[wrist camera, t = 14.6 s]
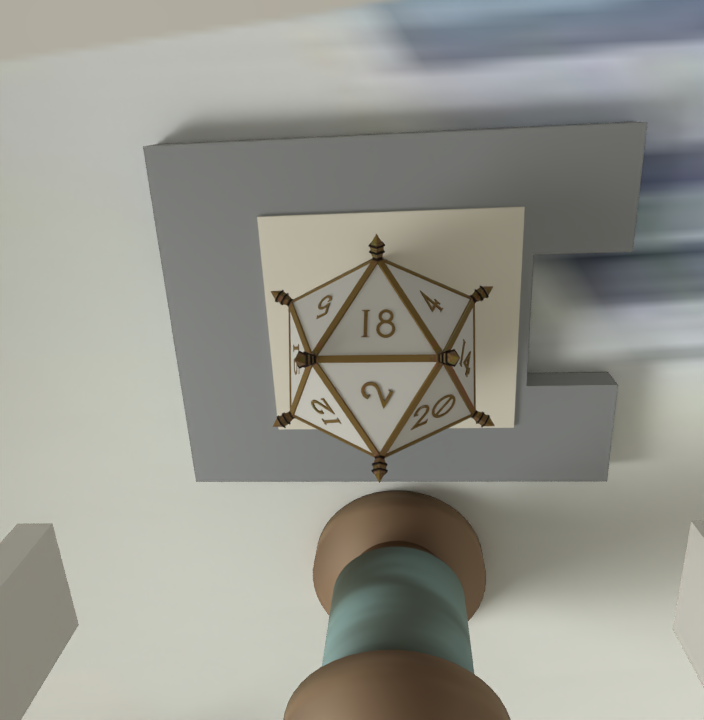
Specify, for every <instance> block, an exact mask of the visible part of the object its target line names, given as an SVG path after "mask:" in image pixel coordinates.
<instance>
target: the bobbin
mask: <svg viewBox="0 0 704 720" xmlns="http://www.w3.org/2000/svg"><path fill="white" fill-rule="evenodd" d="M313 581H314V587H315V591H316V594H317V597H318V599H319V601H320V603H321V605H322V606H323V608H324V609H325V611H326V612H327V613H328V614H329V615H330V616H329V623H328V630H327V636H326V643H325V650H324V657H323V664H322V667H321V668H319V669H318V670H316V671H315V672H313V673H312V674H310V675H309V676H308V677H307V678H306V679H305V680H304V681H303V682H302V683H301V684H300V685H299V686H298V688H297V689H296V690H295V691H294V693H293V695H292V696H291V698H290V700H289V702H288V705H287V707H286V710H285V714H284V719H283V720H510V717H509V715H508V712H507V710H506V708H505V706H504V705H503V703H502V701H501V700H500V698H499V697H498V696H497V695H496V693H495V692H494V691H493V690H492V689H491V688H490V687H489V686H488V685H487V684H486V683H485V682H484V681H483V680H481V679H480V678H479V677H477V676H476V675H474V669H473V661H472V652H471V644H470V636H469V628H468V621H469V619H470V618H471V617H472V616H473V615H474V613H475V612H476V610H477V609H478V607H479V605H480V603H481V601H482V599H483V595H484V592H485V585H486V573H485V567H484V561H483V555H482V550H481V546H480V542H479V540H478V537H477V535H476V533H475V531H474V530H473V528H472V527H471V525H470V524H469V523H468V521H467V520H466V519H465V518H464V517H463V516H462V515H461V514H460V513H459V512H457V511H456V510H455V509H453V508H452V507H451V506H449V505H447V504H446V503H444V502H442V501H440V500H438V499H436V498H433V497H431V496H427V495H424V494H421V493H415V492H410V491H384V492H378V493H373V494H370V495H366V496H363V497H361V498H359V499H356V500H354V501H352V502H351V503H349V504H347V505H346V506H344V507H343V508H342V509H340V510H339V511H338V512H337V513H336V514H335V515H334V516H333V517H332V518H331V519H330V520H329V522H328V523H327V524H326V526H325V527H324V529H323V531H322V533H321V536H320V539H319V542H318V546H317V551H316V556H315V561H314V568H313Z"/></svg>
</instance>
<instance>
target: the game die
mask: <svg viewBox="0 0 704 720" xmlns="http://www.w3.org/2000/svg"><path fill="white" fill-rule="evenodd" d="M368 246H369V247H370V251H369V253H371V255H372V257H373V258H372V259H370V260H368V261H366V262H364V263H362V264H360V265H358V266H356V267H355V268H353V269H351V270H349V271H347V272H345V273H343V274H341V275H339V276H337V277H335V278H333V279H331V280H330V281H328V282H326V283H324V284H322V285H320V286H318V287H316V288H314V289H312V290H310V291H308V292H306V293H305V294H303V295H301V296H299V297H297V298H295V299H292V298H291V297H290V296H289V293H287V294H286V293H285V292H283V291H284V290H282V291H271V293H272V295H273V297H274V299H275V302H279V303H280V304H281V305H287V306H288V312H289V390H290V411H289V412H287V413H285V412H284V413H282V415H281V416H277V419H276V421H275V423H274V425H273V427H284V428H286V427H285V426H286V425H288V424H289V425H290V424H291V423H290V422H291V421H292V420H293V419H295V418H296V419H298V420H300V421H302V422H304V423H306V424H308V425H310V426H312V427H314V428H316V429H318V430H320V431H322V432H324V433H326V434H328V435H330V436H332V437H334V438H336V439H338V440H340V441H342V442H344V443H346V444H348V445H350V446H352V447H354V448H356V449H358V450H360V451H362V452H364V453H366V454H368V455H370V456H372V457H374V458H375V460H374V463H372V466H373V470H371V472H372V473H373V474H375V476H376V478H377V479H378V481H379V483H380V481H381V480H382V478H383V476H384V475H385V474H386V473H387V472H388V470H386V466H387V463H386V462H385V458H386V457H389V456H391V455H393V454H395V453H397V452H399V451H401V450H403V449H405V448H408V447H410V446H412V445H414V444H416V443H418V442H420V441H422V440H424V439H427V438H429V437H431V436H433V435H435V434H437V433H439V432H441V431H443V430H445V429H448V428H450V427H452V426H454V425H456V424H458V423H460V422H462V421H464V420H467V419H469V418H473V419H474V420H475V421H476V424H480V425H481V427H483V426H495V425H494V424H493V422H492V420H491V418H490V415H486V414H484V412H483V411H482V412H479V411H477V410H476V373H475V303H476V302H478V301H483V299H484V298H488V297H489V294H490V292H491V290H492V288H493V287H494V286H481V285H480V288H478V289H477V290H476V289H475V291H474V293H473V294H472V295H470V296H469V295H467V294H465V293H462V292H460V291H458V290H455V289H453V288H451V287H449V286H446V285H444V284H442V283H439V282H437V281H435V280H432V279H430V278H428V277H425V276H423V275H421V274H418V273H416V272H414V271H412V270H409V269H407V268H405V267H402V266H400V265H398V264H395V263H393V262H391V261H388V260H387V259H384V257H383V253H385V251H384V246H385V244H384V243H383V242H382V241H381V240H380V238H379V237H378V235H377V234H376V235H375V237H374V239H373V240H372V242H371V243H370V244H369V245H368Z"/></svg>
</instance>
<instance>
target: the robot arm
mask: <svg viewBox="0 0 704 720" xmlns="http://www.w3.org/2000/svg"><path fill="white" fill-rule="evenodd" d="M78 625H79V624H78V620H77V617H76V613H75V609H74V605H73V601H72V597H71V594H70V590H69V586H68V582H67V578H66V574H65V571H64V567H63V563H62V559H61V555H60V551H59V548H58V544H57V540H56V536H55V532H54V528H53V524H17V525H16V526H15V527H14V528H13V530H12V531H11V532H10V533H9V534H8V535H7V536H6V537H5V539H4V540H3V541H2V542H1V543H0V720H21V719H22V717H23V716H24V714H25V712H26V711H27V709H28V707H29V706H30V704H31V702H32V701H33V699H34V697H35V696H36V694H37V692H38V691H39V689H40V688H41V686H42V684H43V683H44V681H45V679H46V678H47V676H48V674H49V673H50V671H51V669H52V668H53V666H54V664H55V663H56V661H57V659H58V658H59V656H60V655H61V653H62V651H63V650H64V648H65V646H66V645H67V643H68V641H69V640H70V638H71V636H72V635H73V633H74V631H75V630H76V628H77V626H78ZM673 631H674V633H675V635H676V636H677V638H678V640H679V642H680V644H681V646H682V648H683V650H684V651H685V653H686V655H687V657H688V659H689V661H690V663H691V665H692V667H693V668H694V670H695V672H696V674H697V676H698V678H699V680H700V682H701V683H702V685H703V687H704V521H691V525H690V531H689V537H688V543H687V549H686V554H685V560H684V566H683V572H682V578H681V583H680V589H679V595H678V601H677V607H676V612H675V618H674V624H673Z"/></svg>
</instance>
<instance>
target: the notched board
mask: <svg viewBox="0 0 704 720" xmlns="http://www.w3.org/2000/svg"><path fill="white" fill-rule="evenodd" d="M646 129H647V123H646V122H615V123H594V124H574V125H553V126H532V127H511V128H490V129H469V130H448V131H427V132H406V133H385V134H364V135H344V136H323V137H302V138H281V139H260V140H239V141H218V142H197V143H176V144H156V145H150V146H144V147H143V150H144V156H145V162H146V168H147V175H148V181H149V187H150V194H151V200H152V206H153V213H154V219H155V225H156V231H157V238H158V244H159V250H160V257H161V263H162V269H163V276H164V282H165V288H166V294H167V301H168V307H169V313H170V320H171V326H172V332H173V339H174V345H175V351H176V357H177V364H178V370H179V376H180V383H181V389H182V395H183V402H184V408H185V414H186V421H187V427H188V433H189V439H190V446H191V452H192V458H193V465H194V471H195V477H196V482H309V481H378V479H377V478H376V476H375V474H373V473H372V472H371V470H373V466H372V463H374V460H375V458H374V457H372V456H370V455H368V454H366V453H364V452H362V451H360V450H358V449H356V448H354V447H352V446H350V445H348V444H346V443H344V442H342V441H340V440H338V439H336V438H334V437H332V436H330V435H328V434H326V433H324V432H322V431H320V430H318V429H316V428H314V427H312V426H310V425H308V424H306V423H304V422H302V421H300V420H298V419H296V418H295V419H293V420H292V421H291V422H290V423H291V424H290V425H289V424H288V425H286V426H285V427H286V428H284V427H273V425H274V423H275V421H276V419H277V416H281V415H282V413H284V412H285V413H287V412H289V411H290V390H289V312H288V306H287V305H281V304H280V303H279V302H275V299H274V297H273V295H272V293H271V291H282V290H284V291H283V292H285V293H286V294H287V293H289V296H290V297H291V298H292V299H295V298H297V297H299V296H301V295H303V294H305V293H306V292H308V291H310V290H312V289H314V288H316V287H318V286H320V285H322V284H324V283H326V282H328V281H330V280H331V279H333V278H335V277H337V276H339V275H341V274H343V273H345V272H347V271H349V270H351V269H353V268H355V267H356V266H358V265H360V264H362V263H364V262H366V261H368V260H370V259H372V258H373V257H372V255H371V253H369V251H370V247H369V246H368V245H369V244H370V243H371V242H372V240H373V239H374V237H375V235H376V234H377V235H378V237H379V238H380V240H381V241H382V242H383V243H384V244H385V246H384V251H385V253H383V257H384V259H387V260H388V261H391V262H393V263H395V264H398V265H400V266H402V267H405V268H407V269H409V270H412V271H414V272H416V273H418V274H421V275H423V276H425V277H428V278H430V279H432V280H435V281H437V282H439V283H442V284H444V285H446V286H449V287H451V288H453V289H455V290H458V291H460V292H462V293H465V294H467V295H469V296H470V295H472V294H473V293H474V291H475V289H476V290H477V289H478V288H480V285H481V286H494V287H493V288H492V290H491V292H490V294H489V297H488V298H484V299H483V301H478V302H476V303H475V373H476V410H477V411H479V412H482V411H483V412H484V414H486V415H490V418H491V420H492V422H493V424H494V425H495V426H483V427H481V425H480V424H476V421H475V420H474V419H473V418H469V419H467V420H464V421H462V422H460V423H458V424H456V425H454V426H452V427H450V428H448V429H445V430H443V431H441V432H439V433H437V434H435V435H433V436H431V437H429V438H427V439H424V440H422V441H420V442H418V443H416V444H414V445H412V446H410V447H408V448H405V449H403V450H401V451H399V452H397V453H395V454H393V455H391V456H389V457H386V458H385V462H386V463H387V466H386V470H388V472H387V473H386V474H385V475H384V476H383V478H382V480H381V481H607V476H608V467H609V459H610V450H611V441H612V432H613V423H614V414H615V405H616V396H617V387H618V385H617V383H616V382H615V381H614V379H613V378H612V377H611V375H610V374H609V373H608V372H572V373H527V366H528V348H529V330H530V312H531V294H532V276H533V258H534V255H541V254H574V253H606V252H633V245H634V236H635V227H636V218H637V209H638V200H639V191H640V183H641V174H642V165H643V156H644V147H645V138H646Z"/></svg>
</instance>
